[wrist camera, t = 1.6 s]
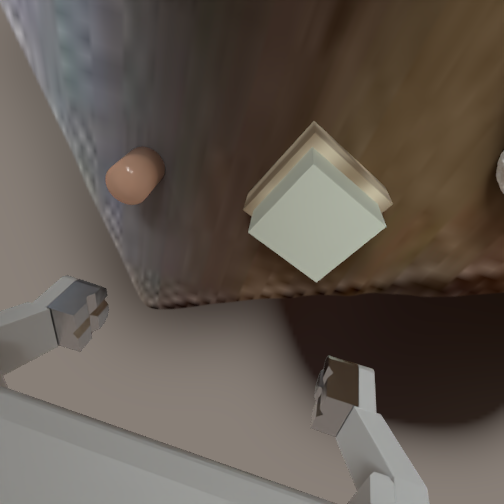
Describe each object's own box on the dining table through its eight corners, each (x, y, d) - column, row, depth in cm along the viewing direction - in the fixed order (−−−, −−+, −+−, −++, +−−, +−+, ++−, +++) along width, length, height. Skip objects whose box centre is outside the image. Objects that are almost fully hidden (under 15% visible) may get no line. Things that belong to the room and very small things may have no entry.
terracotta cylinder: (120, 167, 46) (98, 186, 41) (138, 138, 44) (117, 154, 39) (152, 191, 48) (135, 212, 43) (172, 164, 45) (156, 183, 40)
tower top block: (253, 210, 42) (247, 232, 38) (312, 146, 37) (313, 163, 33) (315, 257, 45) (316, 282, 41) (377, 204, 40) (386, 226, 36)
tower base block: (248, 192, 47) (243, 210, 42) (314, 119, 40) (315, 132, 36) (315, 245, 50) (316, 266, 46) (384, 185, 44) (393, 204, 40)
